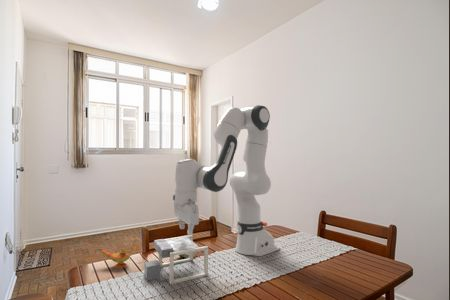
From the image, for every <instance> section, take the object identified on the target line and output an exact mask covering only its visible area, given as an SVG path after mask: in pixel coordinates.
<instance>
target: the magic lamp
mask: <svg viewBox="0 0 450 300" xmlns="http://www.w3.org/2000/svg"><path fill="white" fill-rule="evenodd" d="M132 243H133V244H132V247H131V249H130V251H126V249H125V248H124V247H122V249H121V250H120V251H119V252H116V253H115V252H109V251H106V250H105V249H101V248H98V249H96V251H98V252H99V253H101V254H102V255H103V256H105V257H106V258H107V259H109V260H111V261H113V262H114V263H117V264H115V265H113V266H114V269H122V268H126V267H127V266H128V264H127V263H125V262H126V261H127V260H129V261H131V259H130V257H131V256H133V255H135V254H137V252H138V251H139V248H138V246H137V245H136V244H137V241H136V240H133V242H132ZM134 246H135V248H136V251H135V252H133V249H134ZM132 252H133V253H132ZM130 253H131V254H130Z"/></svg>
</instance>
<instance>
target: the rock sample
mask: <svg viewBox="0 0 450 300" xmlns="http://www.w3.org/2000/svg"><path fill="white" fill-rule="evenodd" d="M196 256H197V254H196V252H193V259H194V258H196ZM178 257H180V258H184V259H187V258H189V253H187V254H182V255H178Z"/></svg>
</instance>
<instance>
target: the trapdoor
mask: <svg viewBox="0 0 450 300" xmlns="http://www.w3.org/2000/svg"><path fill="white" fill-rule="evenodd" d="M164 239H165V238H161V239H154V240H153V248H154V249H155V251H156V252H157V254H158V256H159V255H160V256H161V258H162V259H165V258H170V253H171V252H176V251H182V250H187V249H193V248H198V247H200V246H199V245H198V244H196V242H194V241H191V240H190V239H189V238H188V237H184V238H178V239H171V240H164Z"/></svg>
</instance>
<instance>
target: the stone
mask: <svg viewBox="0 0 450 300" xmlns="http://www.w3.org/2000/svg"><path fill="white" fill-rule="evenodd" d="M143 264H144V265H143V266H144V267H143V271H144V272H143V273H144V277H145V280H146V281H150V280H156V279H159V278H161V267H160V263H159V259H154V260H150V261H144V263H143Z"/></svg>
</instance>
